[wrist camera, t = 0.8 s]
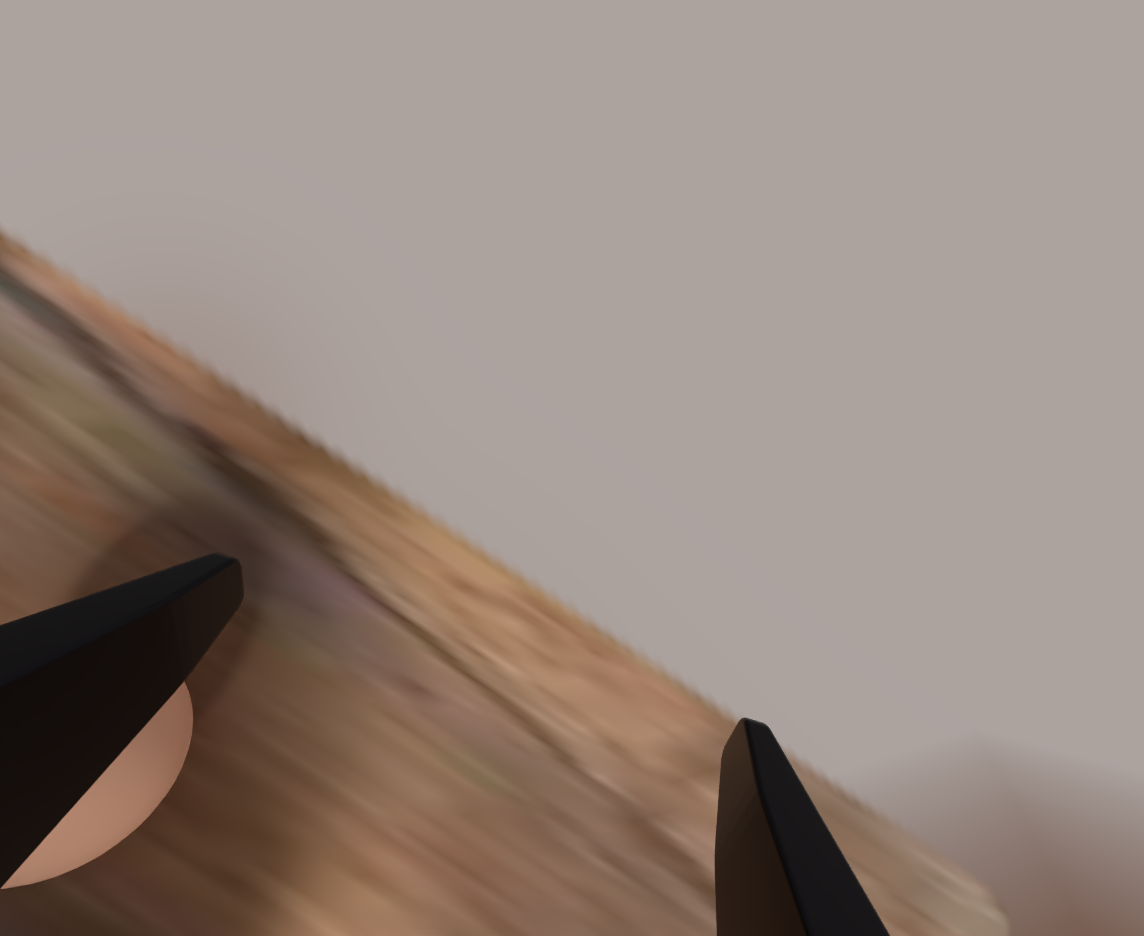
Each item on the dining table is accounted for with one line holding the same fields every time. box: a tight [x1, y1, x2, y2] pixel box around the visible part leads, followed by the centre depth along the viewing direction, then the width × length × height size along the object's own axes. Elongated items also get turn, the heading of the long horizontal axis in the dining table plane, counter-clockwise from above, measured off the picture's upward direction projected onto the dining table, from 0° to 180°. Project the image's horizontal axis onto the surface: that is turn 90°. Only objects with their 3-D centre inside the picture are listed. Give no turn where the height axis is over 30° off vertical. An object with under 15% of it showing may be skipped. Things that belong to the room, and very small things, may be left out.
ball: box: [1, 681, 193, 889], centre depth 15 cm, size 6×6×6 cm
